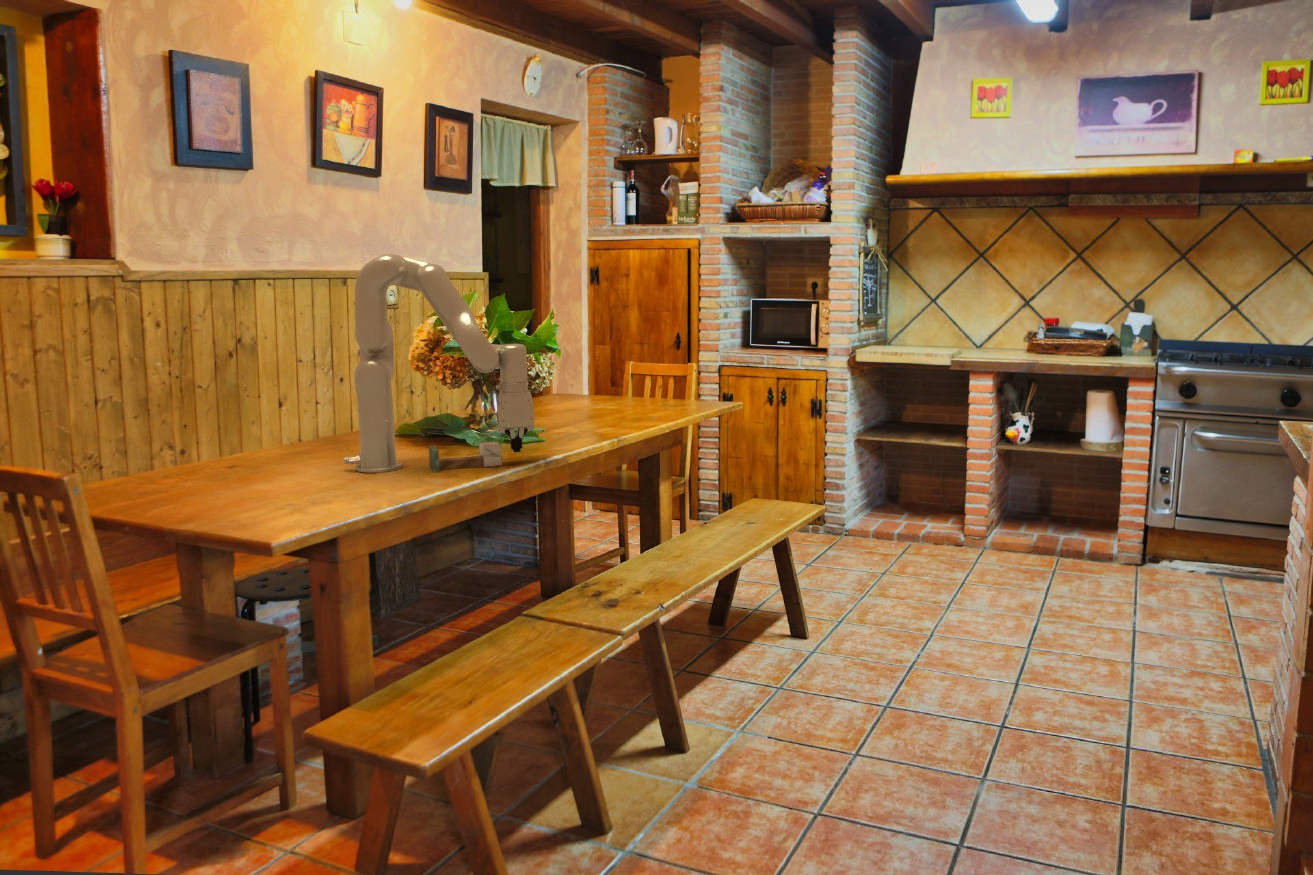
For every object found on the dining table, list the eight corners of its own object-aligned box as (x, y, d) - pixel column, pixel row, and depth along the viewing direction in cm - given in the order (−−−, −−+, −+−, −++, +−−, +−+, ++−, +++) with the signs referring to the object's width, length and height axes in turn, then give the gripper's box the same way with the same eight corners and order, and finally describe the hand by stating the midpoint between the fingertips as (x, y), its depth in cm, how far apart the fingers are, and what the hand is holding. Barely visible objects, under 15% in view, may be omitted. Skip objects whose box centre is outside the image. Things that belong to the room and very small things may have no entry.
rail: (434, 472, 286) (433, 450, 285) (429, 466, 293) (428, 445, 292) (504, 466, 292) (503, 445, 291) (498, 461, 300) (497, 440, 299)
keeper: (484, 466, 291) (483, 446, 290) (479, 462, 297) (478, 442, 296) (501, 465, 293) (500, 445, 292) (496, 461, 299) (496, 441, 298)
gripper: (490, 390, 288) (493, 455, 291) (543, 387, 293) (545, 451, 296) (485, 387, 295) (488, 451, 298) (536, 384, 300) (538, 447, 303)
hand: (516, 451), depth 297 cm, fingers closed
